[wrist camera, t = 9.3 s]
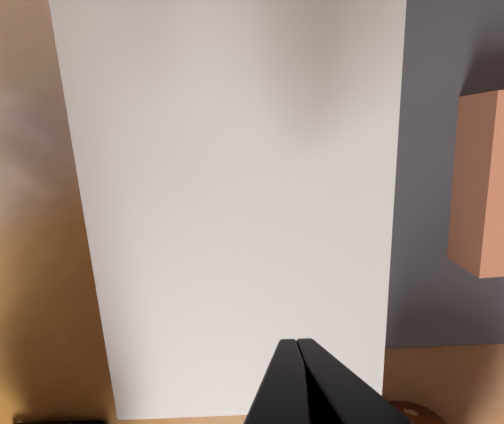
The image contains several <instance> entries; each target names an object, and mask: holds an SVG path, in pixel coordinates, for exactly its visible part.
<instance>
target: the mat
mask: <svg viewBox="0 0 504 424" xmlns="http://www.w3.org/2000/svg"><path fill="white" fill-rule="evenodd" d="M496 90H504V0H407V1H406V18H405V34H404V50H403V66H402V82H401V98H400V114H399V130H398V146H397V162H396V178H395V194H394V210H393V226H392V242H391V259H390V275H389V291H388V307H387V323H386V339H385V348H404V347H428V346H452V345H476V344H500V343H504V277H491V278H478V277H476V276H475V275H473V274H472V273H470V272H468V271H467V270H465V269H464V268H462V267H460V266H459V265H457V264H456V263H454V262H453V261H451V260H449V259H448V258H447V248H448V235H449V222H450V209H451V196H452V182H453V169H454V156H455V143H456V129H457V116H458V103H459V97H460V96H466V95H472V94H478V93H484V92H490V91H496Z"/></svg>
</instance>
